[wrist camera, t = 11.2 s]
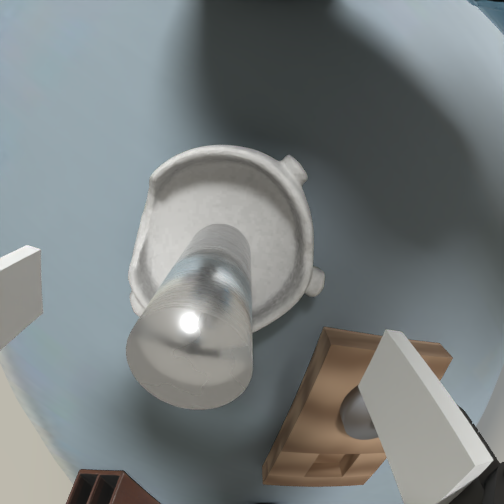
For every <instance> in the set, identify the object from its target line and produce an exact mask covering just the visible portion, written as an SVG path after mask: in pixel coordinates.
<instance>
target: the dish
mask: <svg viewBox="0 0 504 504" xmlns="http://www.w3.org/2000/svg"><path fill="white" fill-rule="evenodd" d="M307 179H308V176H307V174H306V172H305V170H304V169H303V167H302V165H301V164H300V163H299V162H298V161H297V160H296V159H295V158H293V157H292V156H291V155H287V156H286V157H285V158H284V159H282V160H281V161H278V160H276V159H274V158H272V157H270V156H269V155H267V154H265V153H263V152H260V151H257V150H254V149H251V148H246V147H241V146H235V145H209V146H202V147H197V148H193V149H190V150H187V151H185V152H182V153H180V154H178V155H176V156H174V157H172V158H170V159H169V160H167V161H166V162H165V163H163V164H162V165H161V166H160V167H158V168H157V169H156V170H155V171H154V172H153V173H152V175H151V176H150V180H149V190H148V196H147V201H146V204H145V208H144V211H143V214H142V217H141V221H140V226H139V229H138V233H137V238H136V242H135V246H134V251H133V256H132V260H131V263H130V267H129V271H128V280H129V283H130V286H131V289H132V291H131V293H130V302H131V305H132V309H133V311H134V313H135V314H137V315H138V316H139V317H140V316H141V315H142V313H143V312H144V310H145V308H146V307H147V305H148V304H149V302H150V301H151V299H152V298H153V296H154V295H155V293H156V292H157V290H158V288H159V287H160V285H161V284H162V282H163V281H164V279H165V278H166V276H167V275H168V273H169V272H170V270H171V269H172V268H173V266H174V265H175V263H176V262H177V260H178V259H179V257H180V256H181V254H182V253H183V251H184V250H185V248H186V247H187V246H188V244H189V243H190V241H191V240H192V238H193V237H194V236H195V234H196V233H197V232H198V231H199V230H201V229H202V228H204V227H206V226H208V225H212V224H227V225H230V226H232V227H234V228H236V229H238V230H239V231H240V232H241V233H242V234H243V235H244V236H245V237H246V239H247V241H248V243H249V246H250V250H251V287H252V333H254V332H256V331H258V330H260V329H262V328H263V327H265V326H267V325H269V324H270V323H272V322H273V321H275V320H276V319H278V318H280V317H281V316H283V315H284V314H285V313H286V312H287V311H289V310H290V309H291V308H292V307H293V306H294V305H295V304H296V303H297V302H298V301H299V300H300V299H301V297H302V296H303V294H304V293H305V294H306V295H308V296H310V297H315V296H317V295H318V294H319V293H320V292H321V291H322V290H323V287H324V282H325V274H324V272H323V271H322V270H321V269H319V268H318V267H315V266H313V248H314V230H313V222H312V217H311V213H310V209H309V205H308V202H307V199H306V196H305V194H304V191H303V189H302V185H303V184H304V183H305V182H306V181H307Z"/></svg>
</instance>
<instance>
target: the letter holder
mask: <svg viewBox="0 0 504 504" xmlns="http://www.w3.org/2000/svg"><path fill="white" fill-rule="evenodd" d="M66 504H160V503H159V502H158V501H157V500H156V499H154V498H153V497H152V496H151V495H150V494H148V493H147V492H146V491H145V490H144V489H143V488H142V487H140V486H139V485H138V484H137V483H136V482H135V481H134V480H133V479H131V478H130V477H129V476H128V475H127V474H126V473H125V472H124V471H110V470H87V469H81V470H80V471H79V472H78V475H77V477H76V480H75V482H74V485H73V487H72V490H71V492H70V495H69V497H68V500H67V502H66Z"/></svg>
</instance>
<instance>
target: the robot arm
mask: <svg viewBox="0 0 504 504" xmlns="http://www.w3.org/2000/svg"><path fill="white" fill-rule="evenodd" d="M467 1H468V2H469V3H470V4H472V5H475V6H477V7H478V8H479V9H480V10H481V11H482V12H483V13H484V14H485V15H486V16H487V17H488V18H489V19H490V20H491V21H492V22H493V24H494V25H495V26H496V27H497V28H498V29H499V30H500V31H501V32H502V33H503V34H504V0H467ZM41 314H43V303H42V285H41V249H38V248H35V247H31V246H28V245H26V246H24V247H22V248H20V249H18V250H16V251H14V252H11V253H9V254H7V255H5V256H3V257H1V258H0V351H1V350H2V349H3V348H4V347H5V346H6V345H7V344H8V343H9V342H10V341H12V340H13V339H14V338H15V337H16V336H17V335H18V334H19V333H21V332H22V331H23V330H24V329H25V328H26V327H27V326H29V325H30V324H31V323H32V322H33V321H34V320H35V319H37V318H38V317H39V316H40V315H41ZM358 388H359V390H360V393H361V395H362V397H363V400H364V402H365V404H366V407H367V409H368V412H369V414H370V417H371V419H372V422H373V424H374V426H375V429H376V431H377V434H378V436H379V439H380V441H381V444H382V447H383V449H384V452H385V454H386V457H387V459H388V462H389V465H390V467H391V470H392V472H393V475H394V478H395V480H396V483H397V486H398V488H399V491H400V494H401V497H402V499H403V502H404V504H504V462H502V463H501V464H500V463H499V461H498V460H497V458H496V457H495V455H494V454H493V452H492V451H491V449H490V448H489V446H488V444H487V443H486V442H485V440H484V438H483V437H482V435H481V434H480V433H479V432H478V429H477V428H476V427H475V425H474V424H472V421H471V419H470V418H469V416H468V415H467V414H466V412H465V411H464V410H463V409H462V408H461V407H459V406H458V405H457V404H456V403H455V402H454V400H453V399H452V397H451V396H450V395H449V393H448V392H447V390H446V389H445V388H444V386H443V385H442V384H441V382H440V381H439V379H438V378H437V377H436V375H435V374H434V373H433V371H432V370H431V369H430V367H429V366H428V365H427V363H426V362H425V361H424V359H423V358H422V357H421V356H420V354H419V353H418V352H417V350H416V349H415V348H414V346H413V345H412V344H411V343H410V341H409V340H408V339H407V337H406V336H405V335H404V334H403V332H401V331H394V330H388V329H385V332H384V334H383V336H382V338H381V341H380V343H379V345H378V347H377V349H376V351H375V353H374V355H373V358H372V360H371V362H370V364H369V366H368V368H367V370H366V372H365V374H364V376H363V377H362V379H361V381H360V383H359V385H358Z"/></svg>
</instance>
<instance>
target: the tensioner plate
mask: <svg viewBox="0 0 504 504" xmlns="http://www.w3.org/2000/svg"><path fill="white" fill-rule="evenodd" d="M381 338H382V336H380V335H373V334H366V333H360V332H353V331H347V330H341V329H335V328H329V327H323V330H322V333H321V335H320V338H319V341H318V343H317V346H316V348H315V351H314V353H313V356H312V358H311V361H310V363H309V366H308V368H307V371H306V373H305V375H304V378H303V380H302V382H301V385H300V387H299V389H298V392H297V394H296V396H295V399H294V401H293V403H292V405H291V408H290V410H289V412H288V414H287V416H286V419H285V421H284V423H283V425H282V427H281V429H280V431H279V434H278V436H277V438H276V440H275V442H274V444H273V446H272V448H271V450H270V452H269V454H268V456H267V458H266V460H265V462H264V464H263V466H262V475H263V484H266V485H280V486H308V487H323V486H351V485H364V484H365V482H366V481H367V480H368V479H369V478H370V477H371V476H372V475H373V473H374V472H375V471H376V470H377V469H378V468H379V466H380V465H381V464H382V463H383V462H384V460H385V459H386V458H387V457H386V454H385V452H384V449H383V447H382V444H381V441H380V439H379V436H378V434H377V431H376V429H375V426H374V424H373V422H372V419H371V417H370V414H369V412H368V409H367V407H366V404H365V402H364V400H363V397H362V395H361V393H360V390H359V388H358V385H359V383H360V381H361V379H362V377H363V376H364V374H365V372H366V370H367V368H368V366H369V364H370V362H371V360H372V358H373V355H374V353H375V351H376V349H377V347H378V345H379V343H380V341H381ZM408 340H409V339H408ZM409 341H410V343H411V344H412V345H413V346H414V348H415V349H416V350H417V352H418V353H419V354H420V356H421V357H422V358H423V359H424V361H425V362H426V363H427V365H428V366H429V367H430V369H431V370H432V371H433V373H434V374H435V375H436V377H437V378H438V379H439V381H440V380H441V378H442V376H443V375H444V373H445V371H446V369H447V368H448V366H449V364H450V362H451V360H452V358H453V357H452V356H451V355H450V354H449V353H448V352H447V351H446V350H445V349H444V348H443V346H442V345H441V344H440V343H433V342H425V341H417V340H409Z"/></svg>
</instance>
